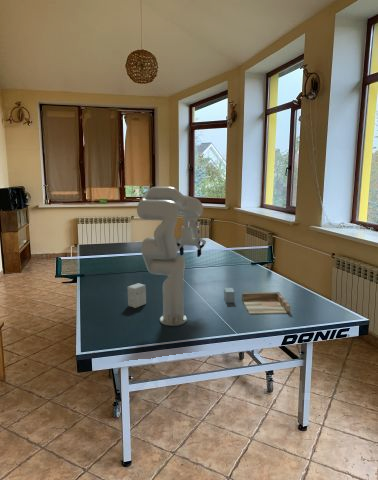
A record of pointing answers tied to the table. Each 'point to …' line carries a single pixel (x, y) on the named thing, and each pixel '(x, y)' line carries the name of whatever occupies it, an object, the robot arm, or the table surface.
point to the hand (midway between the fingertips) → (190, 255)
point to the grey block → (229, 295)
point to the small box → (136, 295)
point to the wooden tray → (265, 303)
